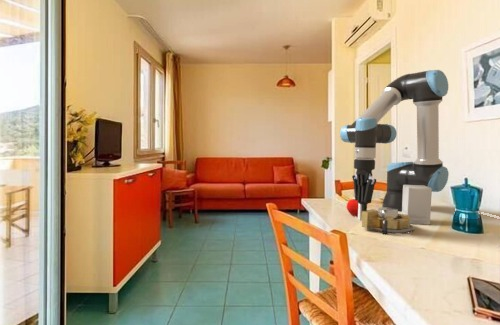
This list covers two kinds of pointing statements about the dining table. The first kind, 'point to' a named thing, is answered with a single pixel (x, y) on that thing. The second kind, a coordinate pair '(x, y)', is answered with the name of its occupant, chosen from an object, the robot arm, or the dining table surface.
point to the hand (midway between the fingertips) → (361, 220)
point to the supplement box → (417, 203)
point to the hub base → (382, 214)
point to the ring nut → (373, 220)
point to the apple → (353, 207)
